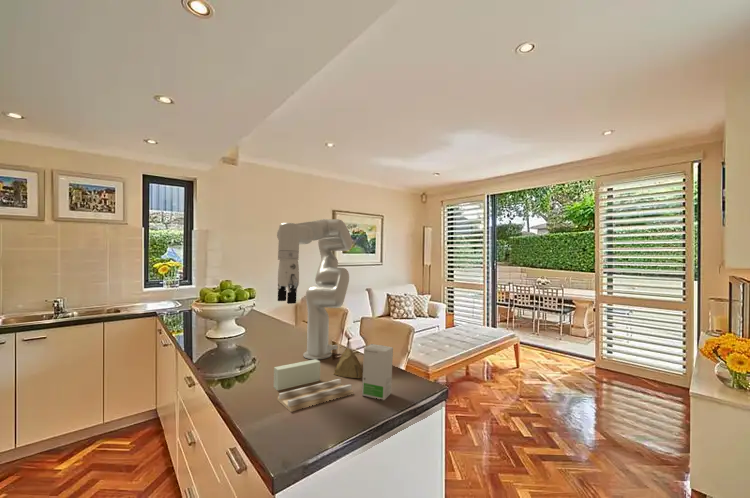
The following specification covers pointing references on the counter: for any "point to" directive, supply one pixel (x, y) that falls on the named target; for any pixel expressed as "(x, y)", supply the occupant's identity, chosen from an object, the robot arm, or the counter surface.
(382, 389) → the skincare box
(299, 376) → the door panel
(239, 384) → the counter surface
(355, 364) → the rock
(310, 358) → the robot arm
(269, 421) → the counter surface
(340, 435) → the counter surface
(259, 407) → the counter surface
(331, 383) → the bottom track
